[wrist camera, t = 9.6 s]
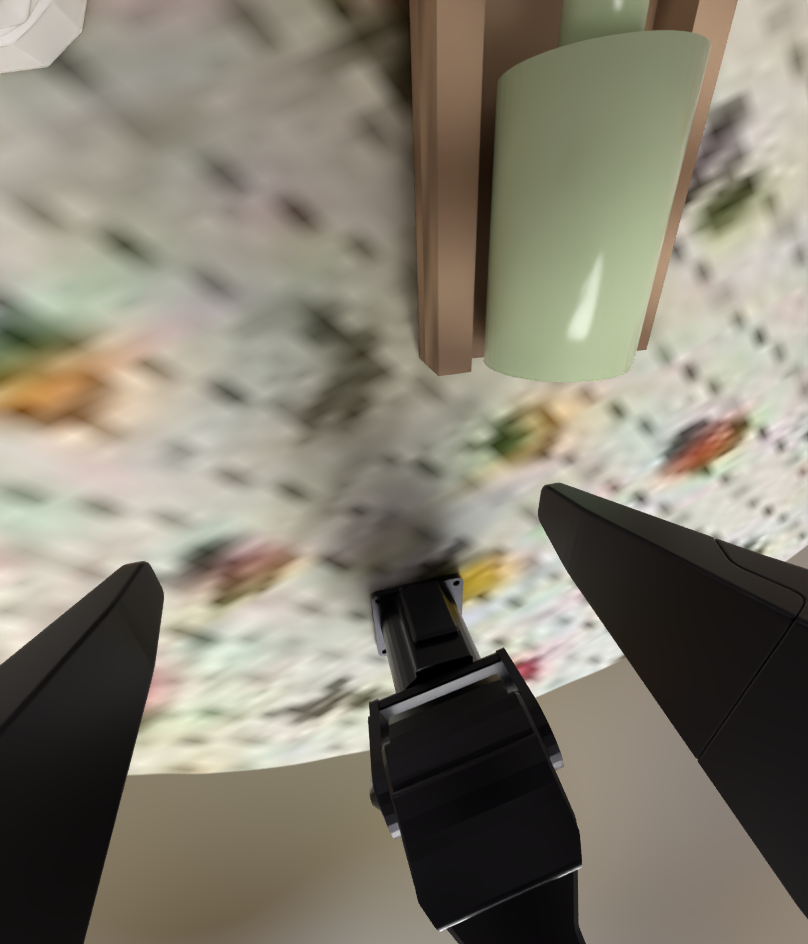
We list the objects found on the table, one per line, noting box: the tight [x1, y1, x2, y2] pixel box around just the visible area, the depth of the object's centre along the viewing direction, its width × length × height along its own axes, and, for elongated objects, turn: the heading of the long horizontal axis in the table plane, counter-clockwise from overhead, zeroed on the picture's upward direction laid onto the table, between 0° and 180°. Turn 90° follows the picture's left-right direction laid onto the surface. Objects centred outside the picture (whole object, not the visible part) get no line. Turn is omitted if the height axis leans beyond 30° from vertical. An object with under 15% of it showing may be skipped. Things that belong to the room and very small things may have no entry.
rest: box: [409, 0, 738, 376], centre depth 16 cm, size 13×10×3 cm
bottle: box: [483, 0, 711, 382], centre depth 14 cm, size 13×6×6 cm, turn 3°
